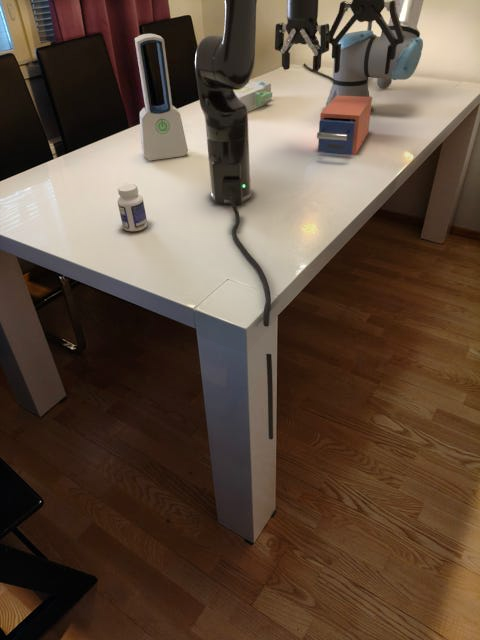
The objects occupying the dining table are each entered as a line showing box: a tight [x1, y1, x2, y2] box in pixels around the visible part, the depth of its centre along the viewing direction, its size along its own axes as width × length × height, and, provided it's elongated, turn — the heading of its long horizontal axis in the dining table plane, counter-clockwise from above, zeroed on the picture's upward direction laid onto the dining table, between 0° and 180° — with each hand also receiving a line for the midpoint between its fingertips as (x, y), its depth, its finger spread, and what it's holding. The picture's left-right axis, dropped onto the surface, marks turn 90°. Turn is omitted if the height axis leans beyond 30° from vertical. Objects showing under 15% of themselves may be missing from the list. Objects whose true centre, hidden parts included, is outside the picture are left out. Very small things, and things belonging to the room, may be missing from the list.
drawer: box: [316, 118, 355, 155], centre depth 134 cm, size 23×9×8 cm, turn 158°
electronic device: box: [134, 33, 189, 162], centre depth 131 cm, size 12×8×30 cm, turn 105°
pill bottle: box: [117, 182, 148, 232], centre depth 102 cm, size 5×5×9 cm
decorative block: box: [234, 80, 273, 113], centre depth 175 cm, size 26×6×20 cm
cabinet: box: [319, 95, 373, 155], centre depth 139 cm, size 19×10×10 cm, turn 158°
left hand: (300, 70), depth 126 cm, fingers open, 8 cm apart
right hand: (361, 72), depth 133 cm, fingers open, 13 cm apart
